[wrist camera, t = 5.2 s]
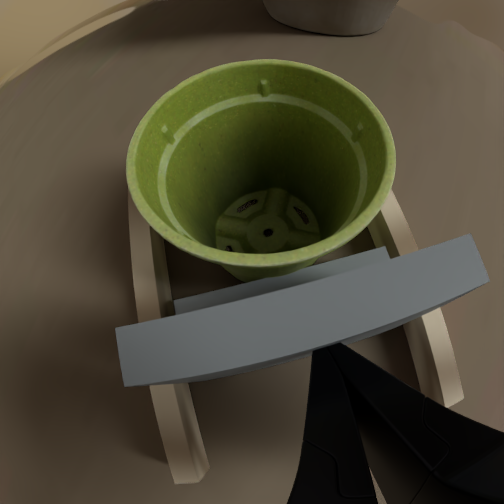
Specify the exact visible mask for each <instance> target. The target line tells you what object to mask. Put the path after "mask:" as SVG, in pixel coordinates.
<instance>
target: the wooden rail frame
mask: <svg viewBox="0 0 504 504" xmlns="http://www.w3.org/2000/svg"><path fill="white" fill-rule="evenodd" d="M128 213H129V233H130V248H131V261H132V272H133V282H134V291H135V300H136V308H137V316H138V323H142V322H146V321H151V320H156V319H160V318H165V317H170V316H174V315H175V313H174V307H173V301H172V295H171V289H170V282H169V275H168V268H167V261H166V254H165V246H164V238H163V237H161V236H160V235H159V234H158V233H157V232H156V231H155V230H154V229H153V228H152V227H151V226H150V225H149V224H148V223H147V222H146V220H145V219H144V218H143V217H142V215H141V214H140V213H139V211H138V209H137V207H136V206H135V204H134V202H133V200H132V197H131V194H130V192H129V189H128ZM367 227H368V229H369V232H370V234H371V237H372V239H373V242H374V244H375V247H376V248H380V247H383V246H385V247H386V250H387V252H388V255H389V257H390V259H392V258H396V257H399V256H402V255H405V254H409V253H412V252H415V251H418V250H419V249H418V247H417V244H416V242H415V240H414V237H413V235H412V233H411V230H410V228H409V226H408V224H407V221H406V219H405V217H404V215H403V213H402V210H401V208H400V206H399V204H398V202H397V200H396V198H395V196H394V194H393V192H392V190H390V192H389V195H388V197H387V199H386V201H385V203H384V204H383V206H382V208H381V209H380V211H379V212H378V213H377V215H376V216H375V217H374V219H373V220H372V221H371V222H370V223H369V225H368V226H367ZM403 327H404V330H405V333H406V337H407V340H408V344H409V347H410V351H411V354H412V358H413V362H414V365H415V369H416V373H417V377H418V381H419V385H420V389H421V393H422V394H424V395H425V397H429V398H431V399H432V400H434V401H436V402H437V403H439V404H441V405H443V406H445V407H446V408H448V407H450V406H452V405H453V404H455V403H457V402H459V401H461V400H462V399H464V396H463V391H462V386H461V382H460V377H459V373H458V369H457V364H456V360H455V357H454V353H453V349H452V345H451V342H450V338H449V335H448V331H447V328H446V325H445V321H444V318H443V315H442V312H441V309H440V307H439V308H437V309H435V310H433V311H431V312H429V313H427V314H425V315H422V316H420V317H418V318H416V319H414V320H411V321H409V322H407V323H405V324H403ZM149 387H150V391H151V396H152V401H153V405H154V410H155V414H156V418H157V422H158V426H159V430H160V434H161V438H162V442H163V446H164V449H165V453H166V457H167V460H168V463H169V467H170V470H171V474H172V477H173V480H174V483H175V484H185V483H198V482H200V480H201V479H202V478H203V477H204V475H205V474H206V473H207V471H208V470H209V469H210V466H209V463H208V459H207V456H206V452H205V449H204V445H203V441H202V437H201V434H200V430H199V426H198V422H197V418H196V414H195V410H194V406H193V402H192V397H191V393H190V389H189V384H188V383H178V384H165V385H150V386H149Z"/></svg>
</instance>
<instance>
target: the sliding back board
mask: <svg viewBox="0 0 504 504" xmlns="http://www.w3.org/2000/svg"><path fill="white" fill-rule="evenodd" d="M489 281H490V280H489V277H488V275H487V272H486V269H485V267H484V264H483V262H482V259H481V257H480V254H479V252H478V249H477V247H476V245H475V242H474V240H473V238H472V235H471V233H470V234H467V235H464V236H461V237H458V238H455V239H452V240H449V241H446V242H443V243H440V244H437V245H434V246H431V247H428V248H425V249H421V250H418V251H415V252H412V253H409V254H405V255H402V256H399V257H396V258H392V259H390V257H389V255H388V252H387V250H386V247H385V246H383V247H380V248H376V249H373V250H369V251H365V252H362V253H358V254H355V255H351V256H347V257H344V258H340V259H336V260H333V261H329V262H325V263H321V264H318V265H314V266H310V267H306V268H303V269H300V270H298V271H296V272H293V273H290V274H288V275H284V276H280V277H273V278H264V279H260V280H256V281H252V282H248V283H244V284H240V285H236V286H232V287H228V288H224V289H220V290H215V291H211V292H207V293H203V294H199V295H195V296H190V297H186V298H182V299H178V300H174V305H175V311H176V315H174V316H170V317H165V318H160V319H156V320H151V321H146V322H142V323H137V324H132V325H127V326H122V327H117V328H115V331H116V338H117V345H118V352H119V359H120V365H121V371H122V377H123V382H124V387H130V386H150V385H165V384H178V383H189V382H199V381H207V380H212V379H217V378H222V377H227V376H232V375H236V374H241V373H245V372H250V371H254V370H258V369H263V368H267V367H271V366H275V365H279V364H282V363H286V362H290V361H294V360H297V359H301V358H305V357H308V356H312V351H313V350H316V349H320V348H323V347H327V346H330V345H333V344H336V343H340V342H341V343H343V344H344V345H348V344H351V343H354V342H357V341H360V340H363V339H366V338H369V337H371V336H374V335H377V334H380V333H383V332H385V331H388V330H391V329H393V328H395V327H398V326H400V325H402V324H405V323H407V322H409V321H411V320H414V319H416V318H418V317H420V316H422V315H425V314H427V313H429V312H431V311H433V310H435V309H437V308H439V307H441V306H443V305H445V304H447V303H449V302H451V301H453V300H455V299H457V298H459V297H461V296H463V295H465V294H467V293H469V292H471V291H473V290H474V289H476V288H478V287H480V286H482V285H484V284H485V283H487V282H489Z"/></svg>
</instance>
